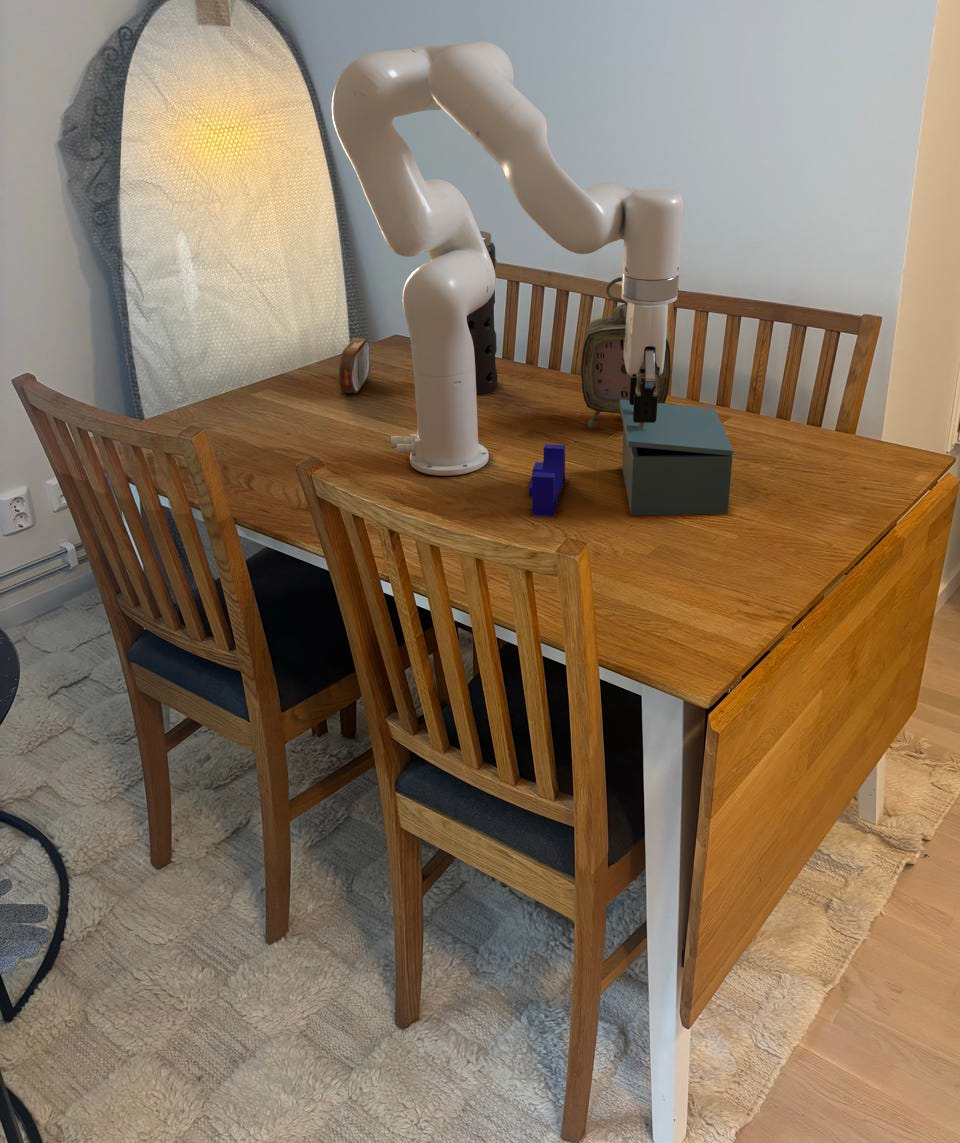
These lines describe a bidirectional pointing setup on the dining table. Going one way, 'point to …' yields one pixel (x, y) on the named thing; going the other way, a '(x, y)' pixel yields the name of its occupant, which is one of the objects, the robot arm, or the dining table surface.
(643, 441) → the lid
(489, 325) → the muzzle brake
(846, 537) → the dining table surface
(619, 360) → the tabletop clock
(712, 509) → the chest
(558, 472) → the blue stepped block
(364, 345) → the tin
